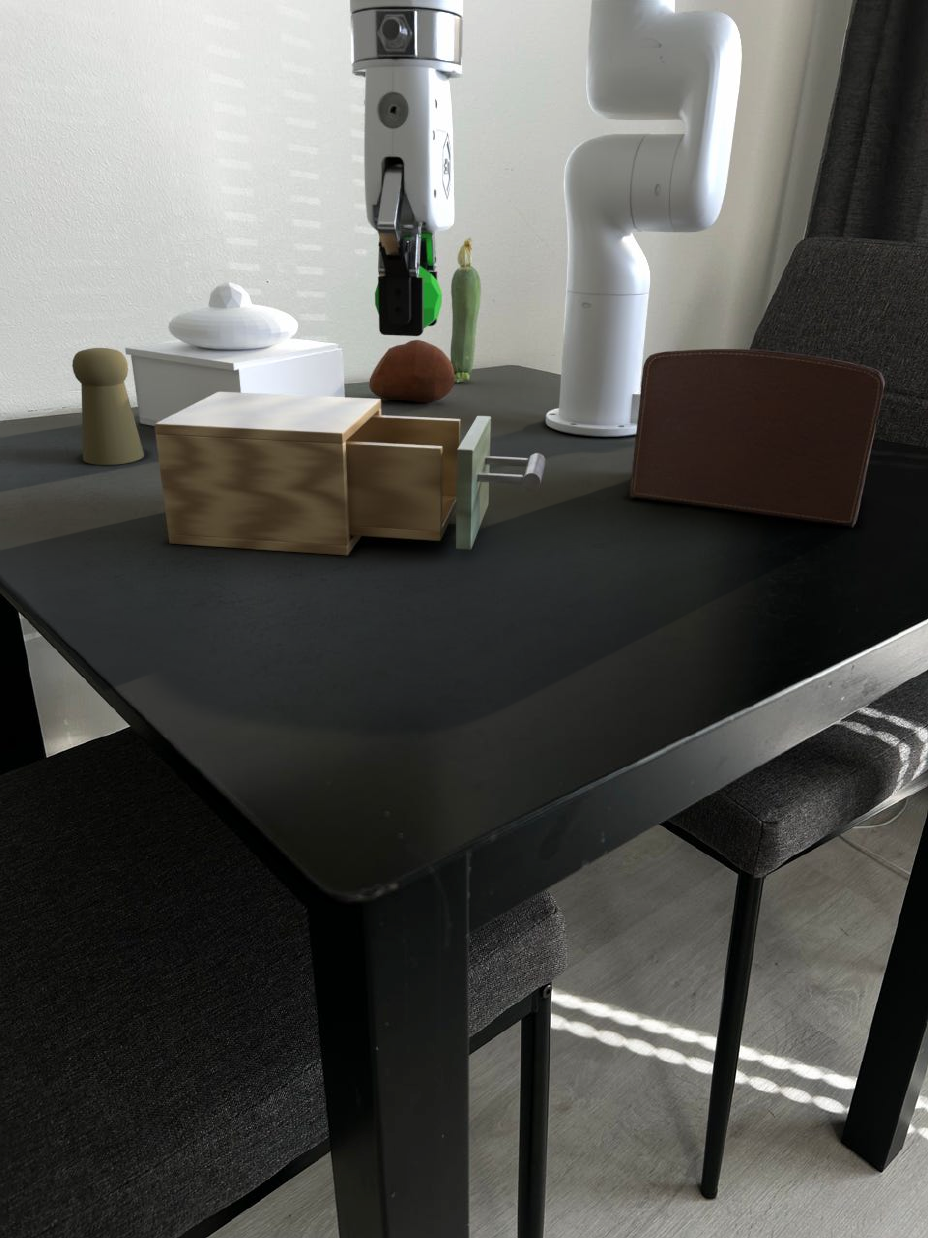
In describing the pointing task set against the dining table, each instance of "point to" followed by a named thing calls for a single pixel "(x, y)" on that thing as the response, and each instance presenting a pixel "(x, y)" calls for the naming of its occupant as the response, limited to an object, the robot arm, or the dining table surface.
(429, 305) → the polyhedron
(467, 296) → the vegetable
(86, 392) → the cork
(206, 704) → the dining table surface
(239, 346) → the butter dish
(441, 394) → the potato
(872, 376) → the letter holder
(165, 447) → the cabinet
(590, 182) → the robot arm
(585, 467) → the dining table surface
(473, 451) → the drawer
